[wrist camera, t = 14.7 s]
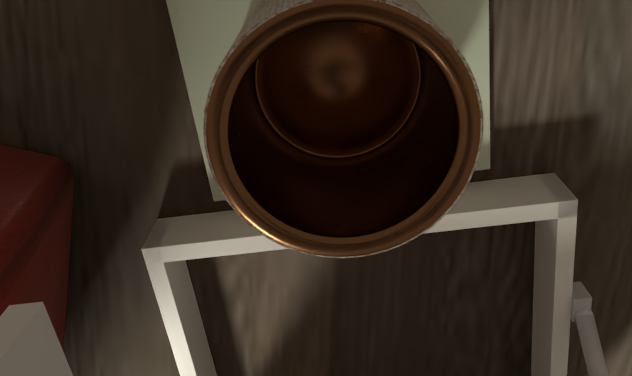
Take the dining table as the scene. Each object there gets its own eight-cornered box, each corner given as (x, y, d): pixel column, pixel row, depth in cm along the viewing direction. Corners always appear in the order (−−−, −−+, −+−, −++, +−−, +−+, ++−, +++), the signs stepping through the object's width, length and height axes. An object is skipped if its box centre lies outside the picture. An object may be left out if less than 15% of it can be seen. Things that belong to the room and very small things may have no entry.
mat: (215, 196, 35) (213, 201, 34) (161, -35, 29) (158, -34, 29) (487, 164, 34) (490, 168, 33) (484, -83, 28) (488, -82, 27)
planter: (405, 188, 34) (433, 284, 25) (218, 146, 33) (180, 231, 24) (470, -3, 29) (533, 33, 20) (256, -59, 28) (226, -45, 19)
